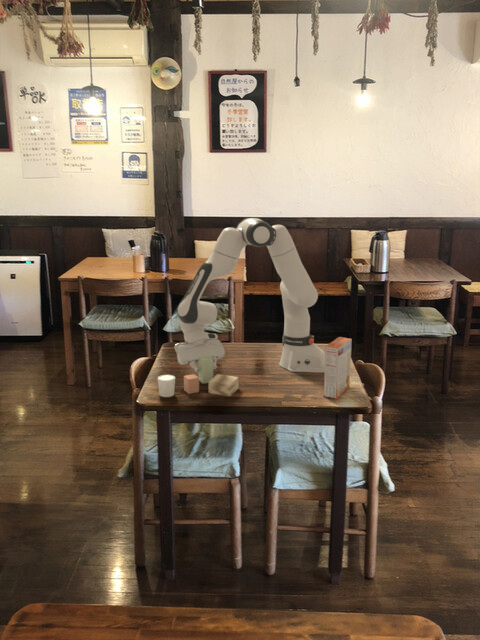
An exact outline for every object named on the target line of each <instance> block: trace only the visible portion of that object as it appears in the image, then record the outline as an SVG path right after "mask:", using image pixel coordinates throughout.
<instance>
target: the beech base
mask: <svg viewBox="0 0 480 640" xmlns="http://www.w3.org/2000/svg"><path fill="white" fill-rule="evenodd" d="M238 389H239V376H233V375H226V374H219V373H217V374H216V375H214V376H213V378H212V379H211V380H210V381H209V383H208V394H211V395H218V396H219V395H220V396H224V397H225V396H226V397H231V396H232V395H233V394H234V393H236V392H237V391H238Z"/></svg>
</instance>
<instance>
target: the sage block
mask: <svg viewBox="0 0 480 640" xmlns="http://www.w3.org/2000/svg"><path fill="white" fill-rule="evenodd" d="M213 363H214V362H213V358H211V357H210V356H204V357H199V360H198V362H197V367H198V366H199V369H200V371H199V372H197V373H198V375H197V377H199V383H201V384H209V381H210V380H211V379H212V378H213V377H214V369H213Z"/></svg>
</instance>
